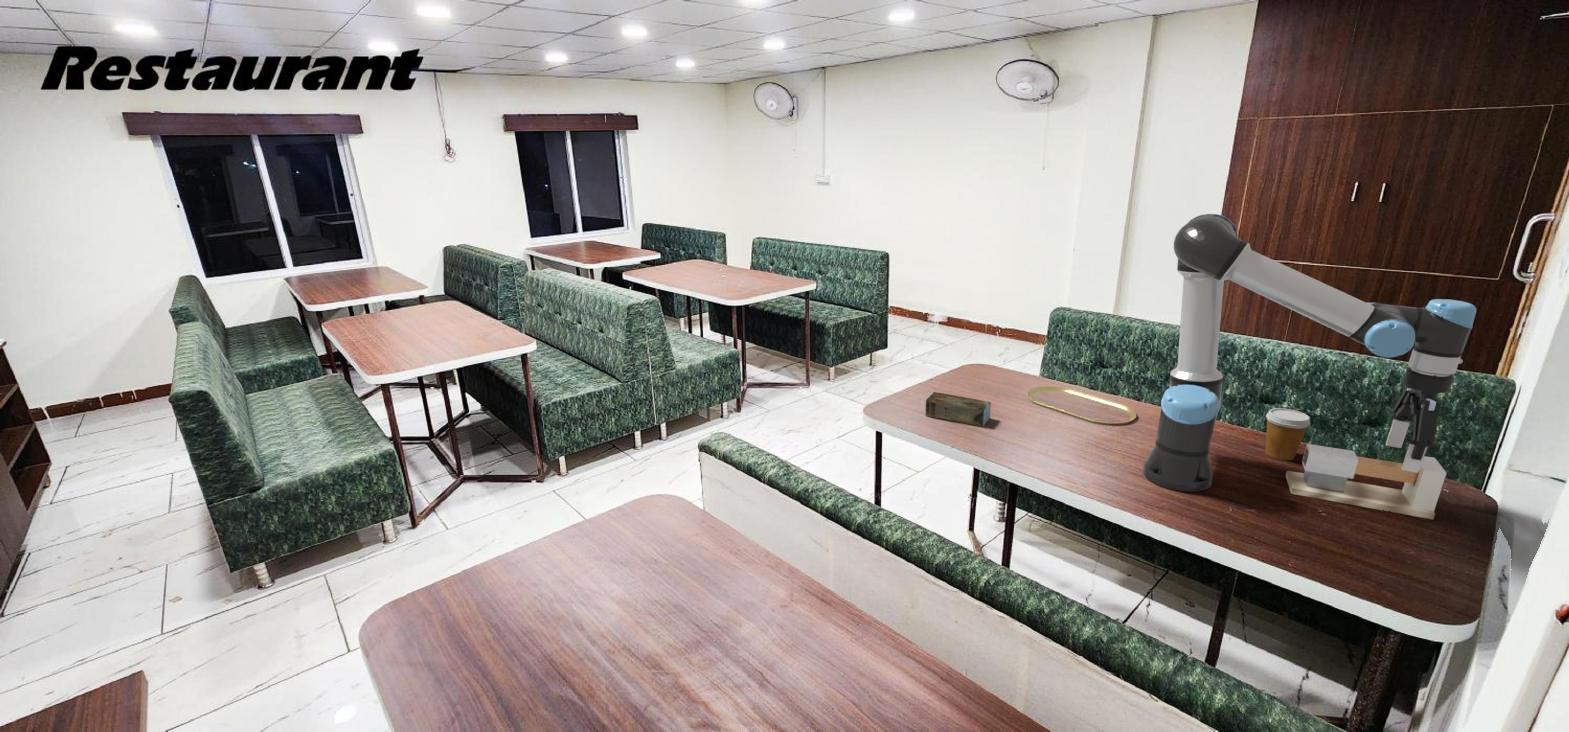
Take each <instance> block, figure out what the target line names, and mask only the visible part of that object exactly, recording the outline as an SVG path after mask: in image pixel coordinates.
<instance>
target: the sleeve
mask: <svg viewBox="0 0 1569 732" xmlns="http://www.w3.org/2000/svg"><path fill="white" fill-rule="evenodd" d="M1357 457H1358V455H1357V454H1356V452H1355V451H1354V450H1349V449H1345V448H1343V449H1342V448H1337V447H1336V448H1335V447H1330V446H1323V445H1317V444H1309V443H1306V444H1305V448H1304V453H1303V456H1302V461H1301V463H1302V466H1303V469H1304V477H1303V478H1304V481H1305V484H1306V486H1307V487H1313V488H1319V489H1324V490H1330V491H1336V492H1341V493H1344V489H1345V486H1346V482H1347V481H1348V479H1352V480H1353V479H1354V477H1355V475H1356V474H1355V470H1356V467H1357V463H1358V458H1357Z"/></svg>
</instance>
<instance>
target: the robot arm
mask: <svg viewBox="0 0 1569 732" xmlns="http://www.w3.org/2000/svg"><path fill="white" fill-rule="evenodd" d="M1173 251H1174V255H1175V256H1176V257H1177V269H1176V271H1177V272H1178V274H1180V275H1181V276H1182V278H1183V279H1182V280H1183V281H1182V282H1183V283H1182V296H1181V312H1180V326H1179V339H1178V341H1179V343H1178V355H1177V366H1175V367H1174V368H1173V369H1171V371H1170V374H1169V375H1170V376H1169V388H1167V389H1166V390H1165V392H1164V393H1163V396H1162V398H1161V401H1160V406H1161V408H1160V414H1159V419H1158V420H1159V421H1158V425H1157V431H1156V439H1155V444H1154V446H1153V448H1152V449H1151V451H1150V453H1149V455H1148V456H1147V458H1146V459H1145V460H1144V464H1143V467H1142V468H1143V469H1142V473H1143V475H1144V477H1145V478H1146V479H1147V480H1149V481H1150V482H1152V483H1153V484H1156V485H1158V486H1159V487H1163V488H1166V489H1169V490H1173V491H1178V492H1188V493H1194V492H1195V493H1197V492H1204V491H1206V490H1208V489H1209V488H1211V486H1212V483H1213V482H1212V481H1213V476H1214V475H1213V470H1212V466H1211V462H1210V457H1209V453H1210V449H1211V444H1212V439H1213V434H1214V433H1213V432H1214V428H1215V423H1216V421H1217V417H1218V414H1219V413H1220V412H1219V411H1220V409H1221V406H1222V404H1223V401H1224V394H1223V378H1224V375H1223V373H1222V372H1221V371H1219V369H1218V368H1217V366H1218V365H1217V364H1218V353H1219V342H1220V330H1221V318H1222V317H1221V316H1222V310H1223V309H1222V307H1223V296H1224V284H1225V282H1224V281H1227V280H1228V281H1231V282H1233V283H1235V284H1237V285H1239V286H1241V287H1243V288H1245V289H1247V290H1250V291H1252V292H1254V293H1256V294H1257V295H1260V296H1262V297H1264V298H1266V299H1268V300H1271V301H1273V302H1274V303H1277V304H1278V305H1281V306H1283V307H1285V308H1287V309H1288V310H1291V311H1294V312H1295V313H1298V314H1299V315H1301V316H1303V317H1306V318H1309V319H1310V320H1312V321H1314V322H1315V323H1319V324H1321V325H1323V326H1325V327H1327V328H1329V329H1331V330H1333V331H1335V332H1338V333H1339V334H1341V335H1343V336H1346V337H1347V338H1349V339H1352V340H1353V341H1355V342H1357V343H1359V344H1361V345H1364V346H1365V347H1366V349H1367V350H1368V351H1370V352H1371V353H1372V354H1374V355H1376V356H1378V357H1383V358H1396V357H1399V356H1403V355H1404V354H1406V353H1408V352H1409V351H1411V354H1410V358H1409V360H1408V363H1407V366H1408V368H1407V369H1406V370H1405V374H1404V376H1403V379H1402V384H1403V385H1405V386H1404V387H1405V388H1404V390H1403V391H1402V394H1401V395H1400V396H1399V398H1398V400H1397V402H1396V403H1395V405H1394V407H1393V409H1392V410H1391V411H1392V412H1391V413H1392V414H1393V420H1392V423H1391V426H1390V428H1389V429H1390V430H1389V432H1388V435H1387V439H1386V442H1385V446H1386V447H1393V448H1398V449H1402V447H1403V443H1404V441H1405V438H1406V435H1407V433H1408V428H1409V427H1410V422H1413V425H1412V426H1413V428H1412V429H1413V430H1412V439H1411V440H1409V441H1408V442H1407V444H1408V448H1407V450H1406V453H1405V457H1404V459H1403V462H1402V463H1403V465H1402V467H1401V469H1402V470H1404V471H1410V472H1416V473H1418V472H1419V470H1420V467H1421V464H1422V461H1423V458H1424V456H1425V455H1426V452H1427V450H1428V448H1430V449H1431V448H1433V447H1434V445H1435V437H1436V431H1437V423H1438V416H1439V412H1440V409H1441V405H1442V403H1441V401H1437V399H1436V395H1437V394H1438V395H1439V394H1445V393H1448V392H1449V391H1450V390H1451V388H1452V384H1453V381H1454V378H1455V376H1454V374H1456V372H1457V369H1458V367H1459V365H1460V364H1462V363H1463V362H1464V360H1463V359H1462V355H1463V352H1464V349H1465V347H1466V345H1467V342H1468V340H1469V339H1468V338H1469V336H1470V334H1471V331H1472V329H1473V327H1474V326H1473V324H1474V321H1475V317H1476V314H1477V307H1476V306H1475V305H1474V304H1472V303H1470V302H1466V301H1463V300H1456V299H1446V298H1445V299H1442V298H1441V299H1440V298H1436V299H1435V298H1434V299H1431V300H1429V302H1428V303H1427V305H1426V306H1425V307H1415V306H1405V305H1397V304H1396V305H1395V304H1387V303H1378V302H1366V301H1363V300H1361V299H1359V298H1357V297H1355V296H1352V295H1350V294H1349V293H1346V292H1344V291H1342V290H1339V289H1337V288H1335V287H1333V286H1330V285H1329V284H1327V283H1324V282H1322V281H1320V280H1317V279H1315V278H1314V277H1311V276H1309V275H1306V274H1304V273H1303V272H1300V271H1298V270H1296V269H1293V268H1291V267H1289V266H1287V265H1285V264H1284V263H1280V262H1278V261H1277V260H1274V259H1272V258H1271V257H1267V256H1266V255H1263V254H1261V253H1258V252H1257V251H1254V250H1253V249H1252V248H1251V245H1250V243H1249V242H1247V241H1244V240H1242V239H1241V238H1238V231H1237V227H1236V226H1235V223H1233V221H1232V220H1230V219H1229V218H1228V217H1226V216H1224V215H1221V214H1217V213H1205V214H1199V215H1197V216H1195V217H1193V218H1192V219H1190V220H1189V221H1187V223H1186V224H1185V225H1183V226H1182V227H1180V229H1179V230H1178V232H1177V233H1176V235H1175V236H1174V241H1173ZM1411 349H1412V350H1411Z"/></svg>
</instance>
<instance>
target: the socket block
mask: <svg viewBox="0 0 1569 732" xmlns="http://www.w3.org/2000/svg"><path fill="white" fill-rule="evenodd" d="M1446 477H1447V472H1446V470H1445V469H1444V468H1443V466H1442V465H1441V464H1440V462H1439V461H1438V460H1437V458H1436V457H1431V456H1425V455H1424V458H1423V461H1422V464H1421V467H1420V471H1419V475H1418V478H1417V481H1416V484H1413V483H1407V482H1404V484H1403V487H1402V489H1401V490H1402V493H1403V494H1404V496H1405V497H1406V499H1407V501H1408V502H1409V504H1410V506H1411V507H1412V508H1416V509H1422V510H1427V511H1433V512H1434V513H1435V509H1436V507H1437V503H1438V500H1439V498H1440V494H1441V491H1442V489H1443V486H1444V482H1445V479H1446Z"/></svg>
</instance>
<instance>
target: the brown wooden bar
mask: <svg viewBox="0 0 1569 732" xmlns="http://www.w3.org/2000/svg"><path fill="white" fill-rule="evenodd" d="M1357 458H1358V463H1357V467H1356V470H1355V474H1354V475H1359V476H1364V477H1372V478H1375V479H1376V478H1378V479H1383V480H1390V481H1395V482H1401V483H1405V482H1407V483H1413V484H1416V481H1417V478H1418V475H1419V472H1418V473H1416V472H1410V471H1404V470H1402V469H1401V467H1402V465H1403V462H1402V463H1401V462H1395V461H1390V460H1382V459H1377V458H1376V459H1375V458H1371V457H1370V458H1369V457H1364V456H1362V457H1361V456H1357ZM1419 471H1420V470H1419Z"/></svg>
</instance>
